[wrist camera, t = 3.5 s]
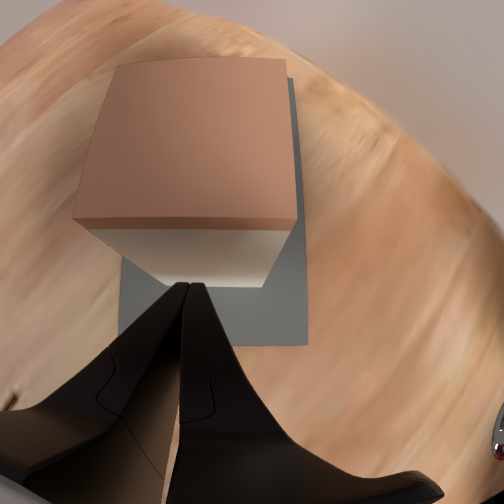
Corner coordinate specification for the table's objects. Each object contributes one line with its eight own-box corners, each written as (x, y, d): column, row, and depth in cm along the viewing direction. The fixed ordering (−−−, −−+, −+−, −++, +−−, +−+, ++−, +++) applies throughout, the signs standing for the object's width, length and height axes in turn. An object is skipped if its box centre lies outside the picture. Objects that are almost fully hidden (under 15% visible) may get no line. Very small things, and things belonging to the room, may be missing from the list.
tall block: (261, 287, 16) (297, 218, 6) (165, 285, 16) (72, 218, 6) (261, 197, 17) (285, 59, 8) (172, 197, 17) (117, 66, 7)
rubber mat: (305, 344, 16) (307, 345, 15) (122, 339, 16) (118, 339, 15) (291, 83, 20) (292, 78, 20) (158, 84, 20) (156, 78, 19)
